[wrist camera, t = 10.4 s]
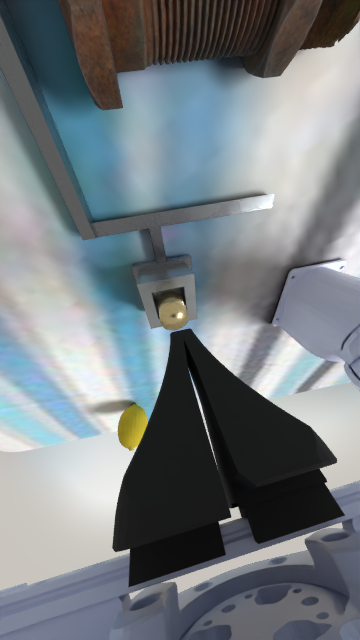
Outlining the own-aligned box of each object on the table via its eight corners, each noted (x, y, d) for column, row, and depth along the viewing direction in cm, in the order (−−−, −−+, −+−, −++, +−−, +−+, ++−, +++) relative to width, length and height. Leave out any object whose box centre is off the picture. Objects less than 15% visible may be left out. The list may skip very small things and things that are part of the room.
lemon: (130, 395, 30) (126, 444, 24) (152, 400, 33) (153, 445, 27) (115, 407, 32) (108, 455, 26) (137, 411, 35) (135, 455, 29)
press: (249, 290, 20) (270, 306, 17) (124, 316, 19) (119, 339, 16) (323, -107, 7) (479, -383, 4) (-64, -100, 6) (-327, -487, 3)
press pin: (183, 310, 15) (189, 326, 13) (160, 315, 15) (163, 332, 13) (180, 289, 14) (187, 303, 12) (155, 294, 13) (157, 310, 11)
